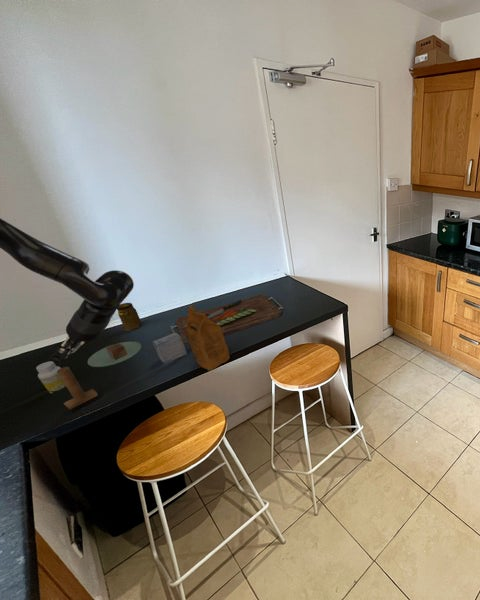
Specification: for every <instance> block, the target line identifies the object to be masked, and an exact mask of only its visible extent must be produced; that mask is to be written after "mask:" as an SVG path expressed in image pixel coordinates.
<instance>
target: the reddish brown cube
mask: <svg viewBox="0 0 480 600" xmlns="http://www.w3.org/2000/svg"><path fill="white" fill-rule="evenodd" d="M119 343H120V342H117V343H114V344H115V345H114V344H111V345H112V346H111V345H109V346H110V347H108V346H107V347H108V348H106V347H105V348H106V350H107V352H108V354H109V355H110V357H111V358H113V359H114V360H117V359H119V358H121V357H123V356H125V355H127V352H126V350H125V348H124V346H123V345H121V344H119Z"/></svg>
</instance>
